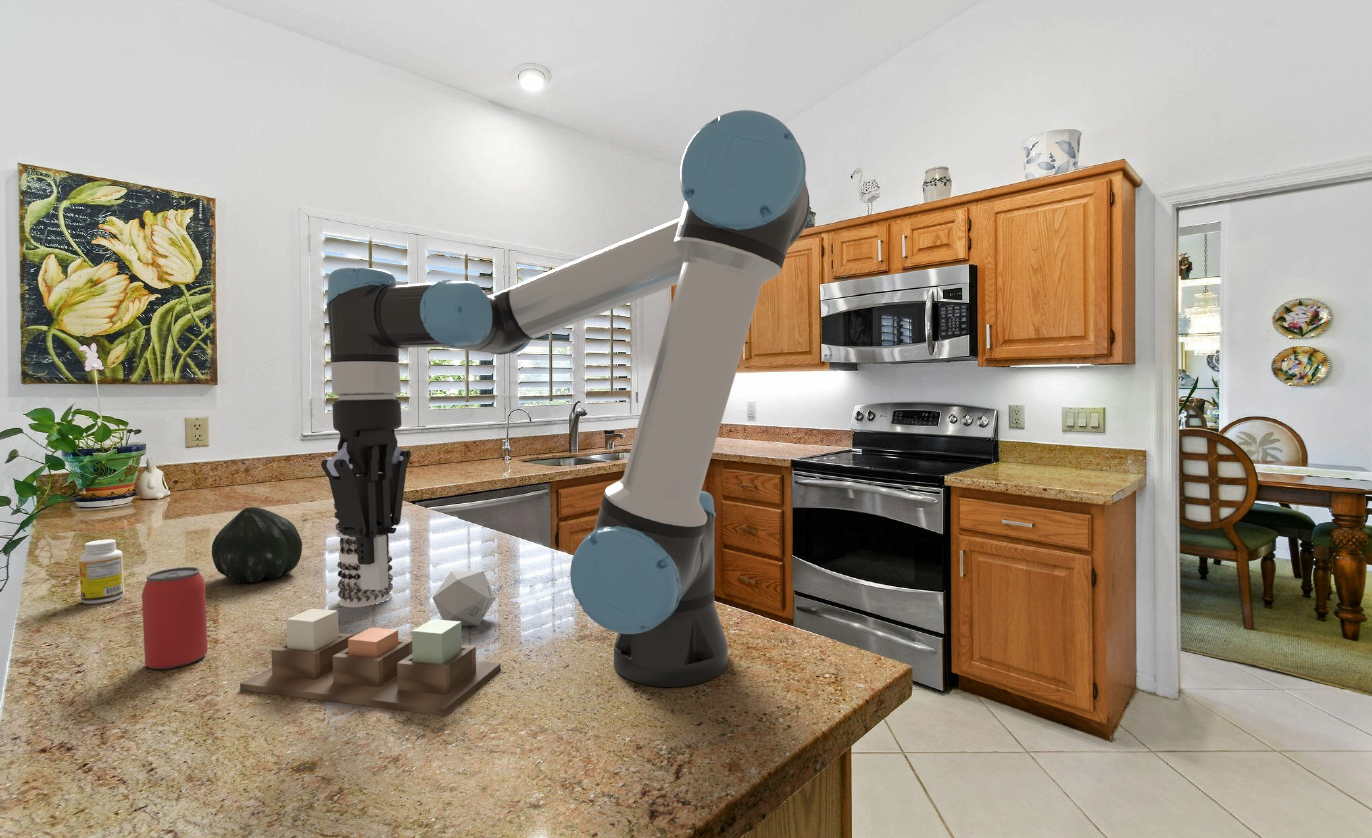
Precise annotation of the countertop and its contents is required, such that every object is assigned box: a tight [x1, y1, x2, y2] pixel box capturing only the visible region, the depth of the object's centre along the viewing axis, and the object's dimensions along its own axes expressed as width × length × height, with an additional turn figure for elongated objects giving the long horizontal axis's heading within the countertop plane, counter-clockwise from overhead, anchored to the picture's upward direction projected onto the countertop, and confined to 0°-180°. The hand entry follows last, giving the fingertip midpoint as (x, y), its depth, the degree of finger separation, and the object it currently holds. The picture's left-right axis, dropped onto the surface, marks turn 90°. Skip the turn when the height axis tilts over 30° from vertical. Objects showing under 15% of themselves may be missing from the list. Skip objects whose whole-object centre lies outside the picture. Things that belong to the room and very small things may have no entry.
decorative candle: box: [333, 503, 394, 609], centre depth 109 cm, size 9×9×25 cm
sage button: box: [411, 618, 463, 665], centre depth 77 cm, size 4×4×4 cm
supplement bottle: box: [78, 538, 125, 605], centre depth 110 cm, size 6×6×10 cm
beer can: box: [141, 566, 208, 670], centre depth 85 cm, size 7×7×12 cm
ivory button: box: [286, 608, 339, 651], centre depth 81 cm, size 4×4×4 cm
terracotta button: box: [348, 626, 400, 658], centre depth 79 cm, size 4×4×4 cm
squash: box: [211, 506, 303, 584], centre depth 123 cm, size 14×15×15 cm
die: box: [432, 570, 496, 627], centre depth 98 cm, size 8×9×10 cm
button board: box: [239, 632, 502, 717], centre depth 79 cm, size 28×12×4 cm, turn 77°
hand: (374, 587), depth 78 cm, fingers closed
